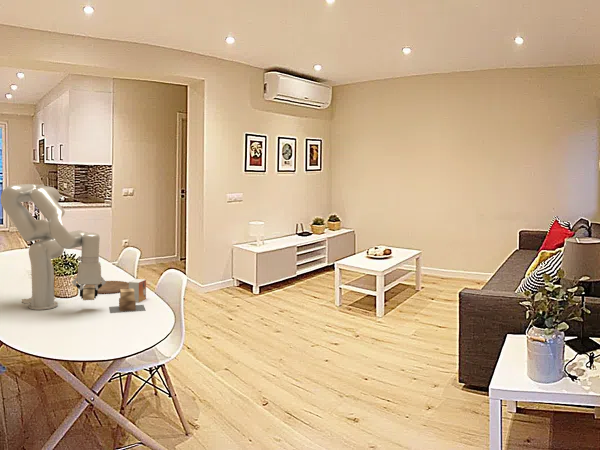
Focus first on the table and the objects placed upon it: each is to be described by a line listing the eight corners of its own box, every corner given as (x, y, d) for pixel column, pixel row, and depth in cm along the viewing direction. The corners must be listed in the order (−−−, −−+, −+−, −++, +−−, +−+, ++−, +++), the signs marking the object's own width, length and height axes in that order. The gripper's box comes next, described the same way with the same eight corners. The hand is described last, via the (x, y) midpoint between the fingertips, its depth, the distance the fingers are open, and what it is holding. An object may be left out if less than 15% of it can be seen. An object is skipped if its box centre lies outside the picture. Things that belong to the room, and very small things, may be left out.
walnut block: (120, 311, 247) (120, 301, 247) (119, 307, 254) (119, 298, 253) (135, 310, 250) (135, 300, 250) (134, 306, 256) (134, 297, 256)
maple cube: (82, 300, 244) (83, 289, 243) (82, 297, 249) (83, 286, 248) (94, 299, 246) (94, 289, 245) (94, 297, 251) (94, 286, 250)
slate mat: (110, 313, 244) (110, 313, 244) (108, 307, 254) (108, 306, 254) (145, 311, 250) (145, 310, 250) (143, 305, 260) (143, 304, 260)
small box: (138, 303, 264) (138, 282, 262) (128, 302, 265) (128, 281, 263) (146, 299, 271) (146, 279, 270) (136, 298, 272) (136, 278, 271)
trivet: (140, 287, 298) (140, 283, 298) (111, 296, 275) (111, 293, 275) (104, 282, 306) (104, 279, 306) (72, 291, 283) (72, 288, 283)
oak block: (121, 301, 248) (121, 292, 247) (120, 298, 253) (120, 289, 253) (134, 300, 250) (134, 291, 249) (133, 297, 255) (133, 288, 255)
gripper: (69, 261, 238) (68, 300, 241) (109, 261, 245) (108, 299, 247) (70, 257, 245) (68, 296, 247) (109, 258, 252) (107, 295, 254)
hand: (88, 297), depth 247 cm, fingers closed on maple cube, 5 cm apart
